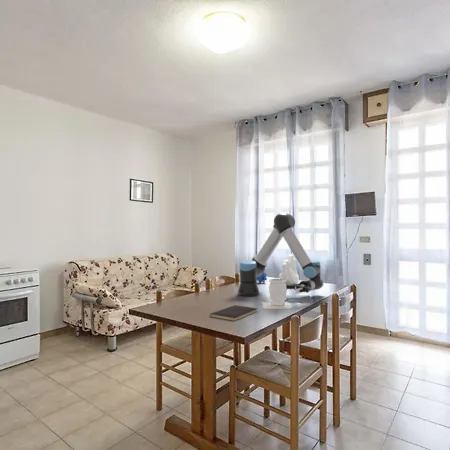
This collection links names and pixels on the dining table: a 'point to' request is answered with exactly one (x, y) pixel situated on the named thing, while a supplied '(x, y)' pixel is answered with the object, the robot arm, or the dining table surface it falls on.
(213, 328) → the dining table surface
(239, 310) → the hardcover book
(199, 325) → the dining table surface
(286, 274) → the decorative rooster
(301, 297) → the mat
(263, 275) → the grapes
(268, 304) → the tile
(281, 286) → the jar
